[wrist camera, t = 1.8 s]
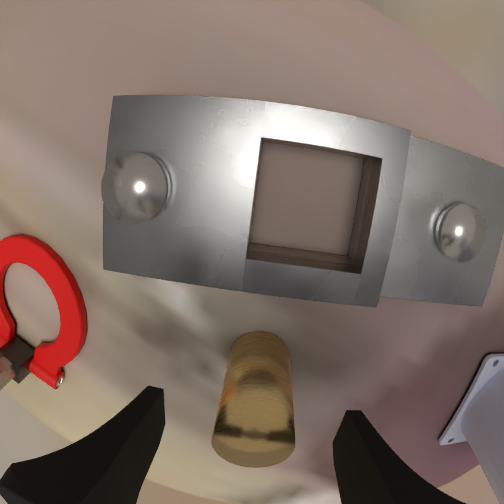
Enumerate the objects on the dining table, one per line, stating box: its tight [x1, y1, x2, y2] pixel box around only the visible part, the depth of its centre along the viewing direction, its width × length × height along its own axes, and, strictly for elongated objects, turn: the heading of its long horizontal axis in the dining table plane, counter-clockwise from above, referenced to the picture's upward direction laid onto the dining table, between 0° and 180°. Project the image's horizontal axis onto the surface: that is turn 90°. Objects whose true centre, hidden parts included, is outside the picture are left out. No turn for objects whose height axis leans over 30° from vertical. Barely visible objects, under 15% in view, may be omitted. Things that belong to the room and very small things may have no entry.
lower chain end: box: [248, 136, 504, 307], centre depth 13 cm, size 13×7×2 cm, turn 83°
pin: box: [212, 331, 295, 467], centre depth 13 cm, size 3×3×6 cm
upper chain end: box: [101, 95, 411, 307], centre depth 12 cm, size 11×7×3 cm, turn 83°
